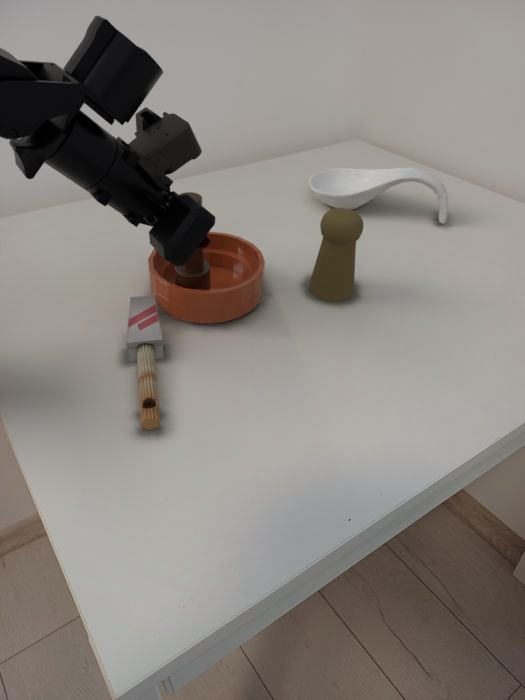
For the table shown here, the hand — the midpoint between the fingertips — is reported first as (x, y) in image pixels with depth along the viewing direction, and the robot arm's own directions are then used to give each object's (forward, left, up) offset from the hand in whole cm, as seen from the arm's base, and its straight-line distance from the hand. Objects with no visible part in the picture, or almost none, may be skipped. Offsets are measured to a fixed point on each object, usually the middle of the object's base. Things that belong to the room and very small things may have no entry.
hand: (201, 238), depth 61 cm
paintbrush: (-3, -14, -8) cm, 16 cm away
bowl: (+1, 0, -8) cm, 8 cm away
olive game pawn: (+17, +4, -8) cm, 19 cm away
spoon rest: (+24, +30, -8) cm, 39 cm away
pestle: (-1, -1, -7) cm, 7 cm away
